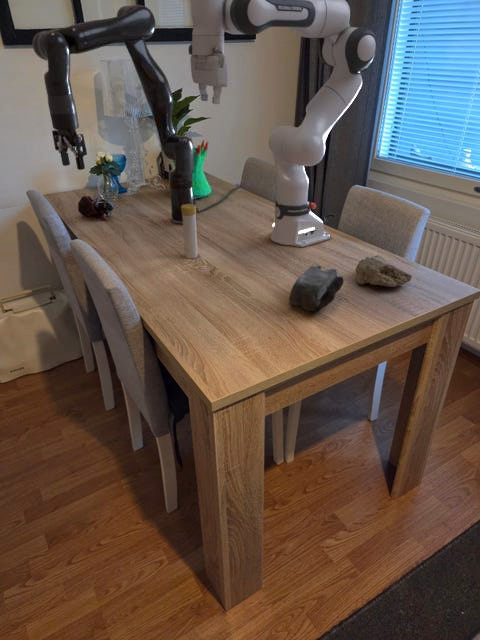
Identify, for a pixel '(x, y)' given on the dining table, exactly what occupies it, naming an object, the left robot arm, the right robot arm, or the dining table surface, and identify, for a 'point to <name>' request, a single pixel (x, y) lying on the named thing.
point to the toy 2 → (199, 172)
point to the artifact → (380, 273)
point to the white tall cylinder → (190, 236)
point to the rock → (315, 288)
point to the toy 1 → (95, 207)
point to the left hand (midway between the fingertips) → (73, 167)
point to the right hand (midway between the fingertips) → (210, 102)
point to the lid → (188, 209)
